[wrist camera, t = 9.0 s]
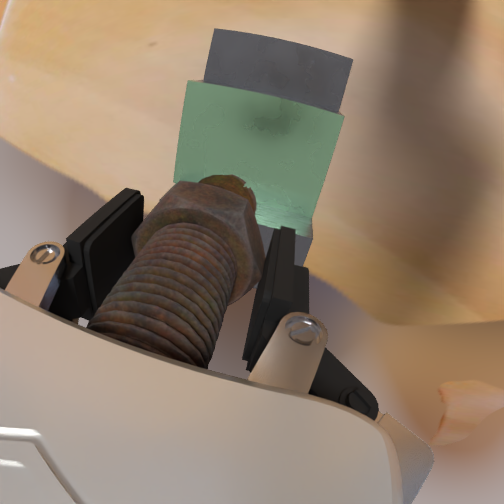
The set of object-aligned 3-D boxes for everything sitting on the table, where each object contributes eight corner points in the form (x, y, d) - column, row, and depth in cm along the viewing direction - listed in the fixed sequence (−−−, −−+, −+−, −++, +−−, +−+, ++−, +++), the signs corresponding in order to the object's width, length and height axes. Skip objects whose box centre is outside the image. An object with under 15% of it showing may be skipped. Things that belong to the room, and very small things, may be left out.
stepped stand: (220, 32, 24) (183, 15, 15) (346, 61, 24) (372, 54, 15) (189, 209, 35) (153, 260, 26) (294, 236, 35) (290, 297, 26)
